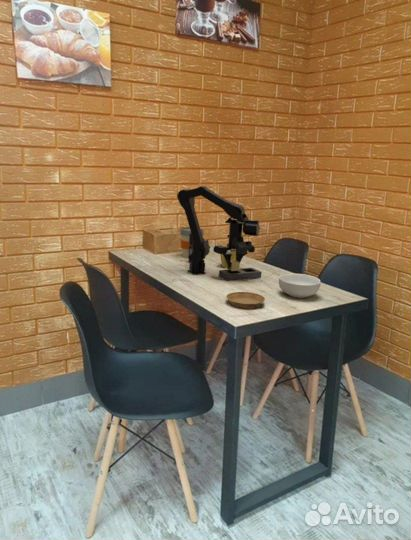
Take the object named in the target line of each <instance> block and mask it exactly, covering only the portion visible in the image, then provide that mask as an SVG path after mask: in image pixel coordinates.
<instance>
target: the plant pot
mask: <svg viewBox="0 0 411 540" xmlns="http://www.w3.org/2000/svg"><path fill="white" fill-rule="evenodd" d="M224 246H225V247H228V246H227V245H224ZM231 254H232V256H231V260H236V251H231ZM219 256H220V262H221V267H222V268H225V269H227V263H226V260H225V258H224V256H223V254H219Z"/></svg>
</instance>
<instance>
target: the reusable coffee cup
mask: <svg viewBox="0 0 411 540" xmlns="http://www.w3.org/2000/svg"><path fill="white" fill-rule="evenodd" d="M200 230H201V233H202V236H203V237H204V229H203V228H200ZM179 232H180V233H179V235H180V247H181V253H182V257H183V258H184V259H188V256H189V235H190V233H191V231H190V227H182V228H180V231H179Z"/></svg>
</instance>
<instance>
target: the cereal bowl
mask: <svg viewBox="0 0 411 540" xmlns="http://www.w3.org/2000/svg"><path fill="white" fill-rule="evenodd" d="M278 286H279V288H280V290H281V291H282V292H284V293H285V294H288V295H289V296H290V297H293V298H296V297H297V299H298V298H299V299H305V298H308V297H310V296H313V295H315V294H316V293H317V292H319V290H320V287H321V280H320V278H319V277H316V276H313V275H309V274H304V273H284V274H281V275H279V276H278Z"/></svg>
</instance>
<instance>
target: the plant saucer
mask: <svg viewBox="0 0 411 540" xmlns="http://www.w3.org/2000/svg"><path fill="white" fill-rule="evenodd" d="M225 296H226V297H225V298H226V299H227V301H229V303H230V304H231V305H233V306H234V307H238V308H240V309H241V308H242V309H244V308H245V309H255V308H258V307H260V306H261V305H262V304H263V303H264V302H265V301H266V298H265V297H264V296H263V295H261V294H258V293H254V292H247V291H235V292H230V293H228V294H227V295H225Z"/></svg>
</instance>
